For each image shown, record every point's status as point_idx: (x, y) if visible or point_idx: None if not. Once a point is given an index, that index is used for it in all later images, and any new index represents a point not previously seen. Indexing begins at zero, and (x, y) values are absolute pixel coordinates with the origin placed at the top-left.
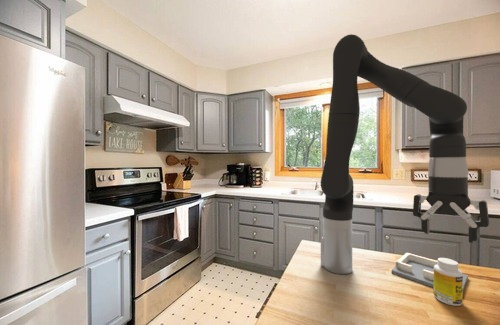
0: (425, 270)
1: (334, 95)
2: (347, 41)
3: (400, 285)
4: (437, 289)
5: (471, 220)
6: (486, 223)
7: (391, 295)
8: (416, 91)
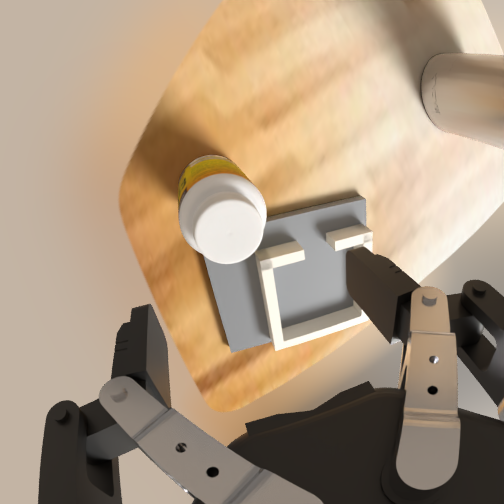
0: (298, 255)
1: None
2: None
3: (317, 143)
4: (229, 162)
5: (126, 422)
6: (50, 423)
7: (307, 65)
8: None
